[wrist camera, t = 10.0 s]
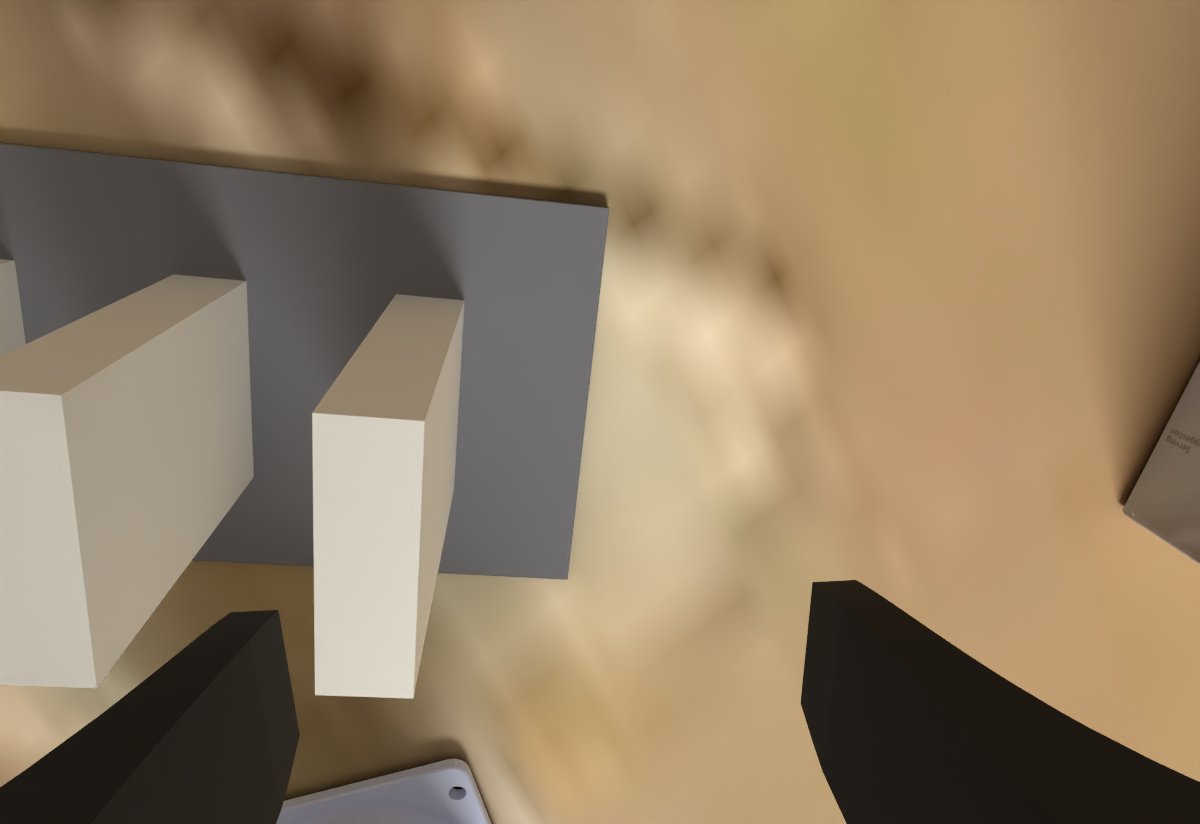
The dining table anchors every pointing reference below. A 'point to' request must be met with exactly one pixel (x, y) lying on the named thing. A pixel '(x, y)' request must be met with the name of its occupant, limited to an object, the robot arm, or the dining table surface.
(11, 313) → the domino
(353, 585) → the domino
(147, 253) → the mat
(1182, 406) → the coffee box
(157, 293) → the domino
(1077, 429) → the dining table surface
